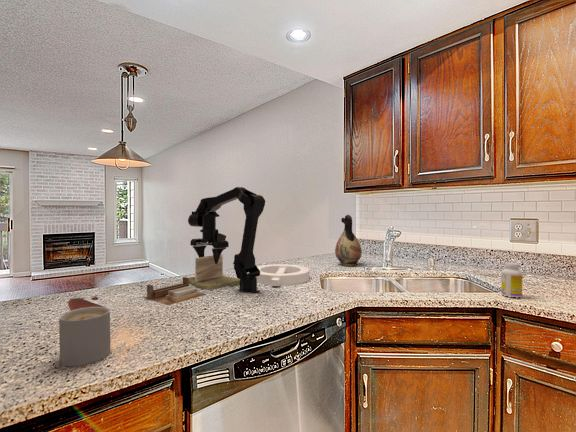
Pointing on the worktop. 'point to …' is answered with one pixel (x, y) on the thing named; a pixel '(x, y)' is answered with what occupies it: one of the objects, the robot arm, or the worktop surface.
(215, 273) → the birch sheet
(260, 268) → the ring with crossbar
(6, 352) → the worktop surface
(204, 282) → the decorative tile
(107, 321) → the coffee mug
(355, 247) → the ceramic jug
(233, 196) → the robot arm
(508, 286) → the supplement bottle
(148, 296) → the walnut rack
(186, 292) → the grey offcut
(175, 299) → the oak offcut
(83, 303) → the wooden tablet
